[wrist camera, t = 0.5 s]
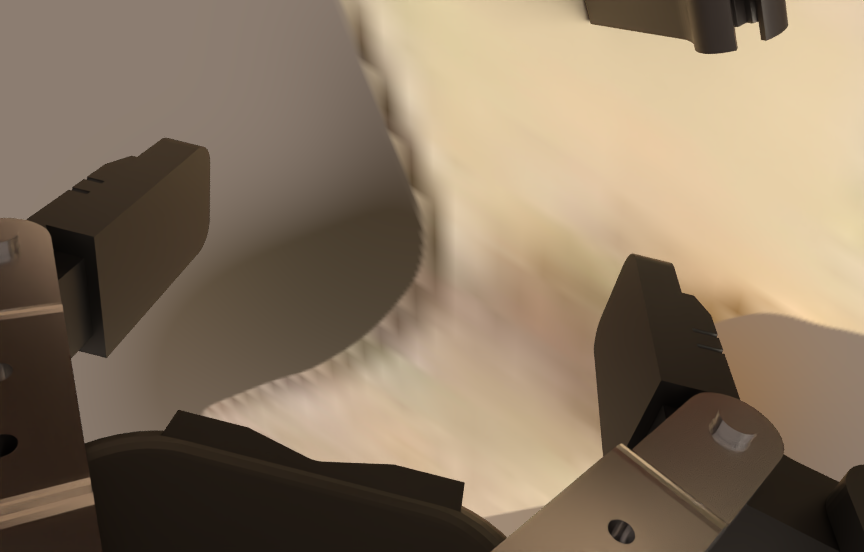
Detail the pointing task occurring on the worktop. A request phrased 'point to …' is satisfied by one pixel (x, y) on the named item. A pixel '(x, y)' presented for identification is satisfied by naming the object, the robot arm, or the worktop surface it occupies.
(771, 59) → the worktop surface
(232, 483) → the robot arm
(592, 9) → the phone stand
